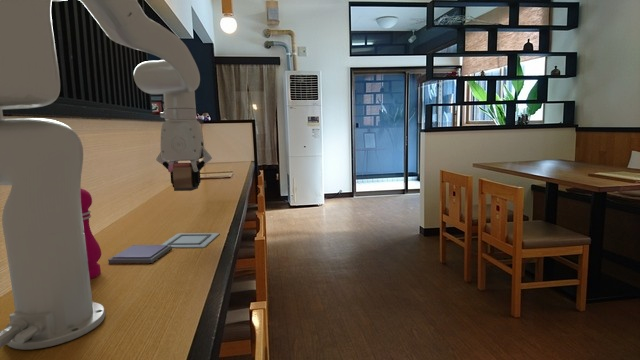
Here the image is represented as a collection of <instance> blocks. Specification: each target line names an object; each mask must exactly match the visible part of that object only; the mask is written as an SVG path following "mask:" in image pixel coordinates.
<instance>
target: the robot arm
mask: <svg viewBox="0 0 640 360" xmlns="http://www.w3.org/2000/svg"><path fill="white" fill-rule="evenodd" d="M63 1H67V0H0V186H11V187H10V192H9V194H8V196H7V199H6V201H5V204H4V206H3V209H2V214H1V215H2V216H1V221H2V222H1V223H2V225H1V226H2V233H3V236H4V243H5V251H6V256H7V263H8V269H9V271H8V272H9V277H10V283H11V284H10V285H11V290H12V291H11V292H12V298H13V305H14V312H12V313H10V314H9V321H10V322H9V323H7V324H6V326H5V328H4V329H1V330H0V349H1V348H3V347H5V346H6V345H7V346H8V347H9V348H12V349H15V350H21V351H22V350H38V349H44V348H49V347H53V346H57V345H62V344H64V343H67V342H69V341H73V340H75V339H77V338H80V337H82V336H83V335H85V334H88V333H90V332H91V331H93V330H94V329H96V328H97V327H98V326H99V325H100V324H101V323H102V322H103V321H104V319H105V317H106V309H105V306H103V304H101V303H98V302H95V301H93V297H92V295H93V294H92V288H91V279H90V277H89V268H88V259H87V251H86V242H85V233H84V225H83V217H82V207H81V189H82V188H81V187H82V186H81V184H82V174H83V173H82V172H83V163H84V147H83V143H82V140H81V138H80V137H79V135H78V134H77V133H76V131H75V130H73V129H74V128H71V127H70V126H69V125H67V124H66V123H63V122H60V121H57V120H55V119H49V118H41V117H40V118H39V117H38V118H37V117H35V118H34V117H32V118H31V117H28V118H27V117H26V118H25V117H24V118H5V119H4V114H3V111H4V110H21V109H35V108H42V107H45V106H48V105H51V104H53V103H54V102H55V101H57V99H58V97H59V96H60V92H61V78H60V69H59V63H58V62H59V61H58V56H57V49H56V43H55V42H56V41H55V35H54V29H53V19H52V2H63ZM78 1H80V3H82V5H84V7H85V8H86V9H87V11H88V12H89V13H90V15H91V16H92V17H93V19H94V20H95V21H96V23H97V24H98V25H99V27H100V28H101V29H102V31H103V32H104V33H105V35H106V36H107V37H108V38H109V39H110V40H111V41H113V42H114V43H117V44H119V45H122V46H125V47H126V48H130V49H132V50H137V51H141V52H144V53H148V54H150V55H152V56H154V57H155V56H156V57H158V58H160V60H148V61H143V62H141V63H139V64H137V66H136V67H135V68H134V70H133V79H134V80H133V81H134V82H135V84H136V86H137V88H139V89H140V90H141V91H142V92H143V93H146V94H149V95H163V106H164V107H163V108H164V109H163V112H159V115H160V118H164V120H165V121H162V122H161V129H160V153H159V154H158V155H157V156H156V161H157V162H158V163H160V164H161V165H162V166H163V167H164V168H166V170H167V171H168V173H170V184H171V185H172V188H173V189H174V182H173V168H174V164H176V163H179V162H182V161H184V162H185V161H186V162H189V161H190V162H191V164H192V168H193V172H192V185H193V187H197V186H198V187H199V186H200V184H201V180H202V179H201V171H202V169H203V168H204V167H205V166H206V165H207V164H208V163H209V162H210V161H212V159H213V157H212V156H211V155H210V153H209V152H208V150H207V149H206V148H205V141H204V136H203V131H202V127H201V123H200V121H198V120H197V109H196V108H197V107H196V92H195V91H197V89H198V88H199V86H200V82H201V75H200V71H199V68H198V65H197V63H196V61H195V59H194V56H193V55H192V53H191V51H190V50H189V48H188V46H187V45H186V43H184V42H183V40H182V39H181V38H179V37H178V36H177V35H176V34H174V33H173V32H172V31H170V30H169V29H167V28H166V27H164V26H163V25H161V24H160V23H158V22H156V21H154V20H153V19H152V18H150V17H148V16H147V15H146V14H145V12H144V10H143V8H142V7H141V5H140V3H139V2H138V0H78ZM200 159H202V160H201V161H200Z"/></svg>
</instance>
